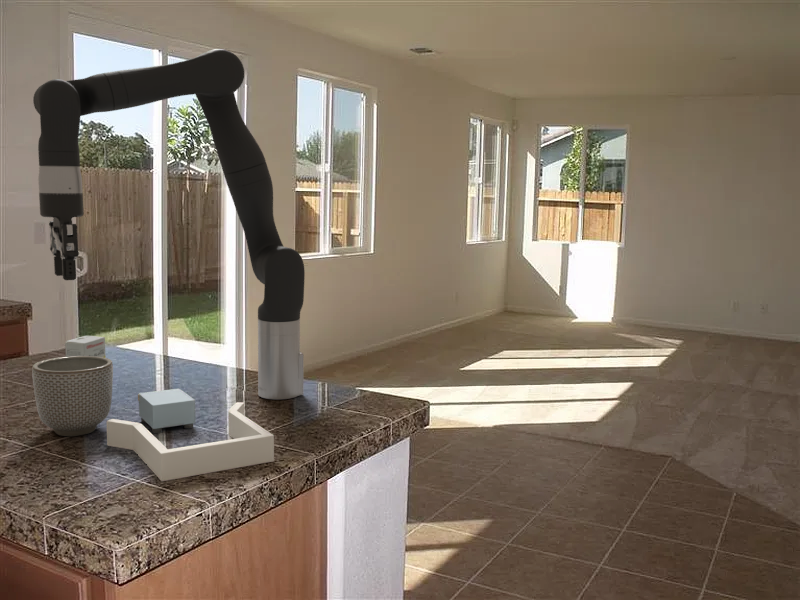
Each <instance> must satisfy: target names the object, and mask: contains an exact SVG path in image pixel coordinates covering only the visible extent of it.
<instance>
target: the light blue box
mask: <svg viewBox="0 0 800 600" xmlns="http://www.w3.org/2000/svg"><path fill="white" fill-rule="evenodd" d="M137 401H138V416H139V417H140V421H141V423H143V424H148V426H149V427H151V434H152V433H153V434H160V433H162V432H163V429H164V428H171V427H177V426H183V429H193V428H194V424H196V400H195V398H193V397H192V396H190V395H189V394H187V393H186V392H185V391H183V390H182V389H181V388H172V389H165V390H164V389H163V390H156V391H148V392H147V391H146V392H139V393H138V394H137Z"/></svg>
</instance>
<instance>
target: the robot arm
mask: <svg viewBox="0 0 800 600" xmlns="http://www.w3.org/2000/svg"><path fill="white" fill-rule="evenodd" d="M244 79H245V67H244V64H243V63H242V61H241V59H240V58H239V56H237V54H235V53H233V52H232V51H230V50H227V49H224V48H223V49H222V48H215V49H210V50H208V51H205V52H202V53H200V54H198V55H197V56H195V57H193V58H190V59H187V60H186V59H185V60H181V61H176V62H173V63H168V64H162V65H153V66H145V67H138V68H129V69H122V70H114V71H108V72H102V73H96V74H93V75H90V76H87V77H85V78H79V79H78V78H77V79H70V80H63V79H51V80H47V81H46V82H44V83H43V84H41V85H40V86H38V88H37V89H36V90H35V92H34V94H33V96H32V97H33V103H32V104H33V107H34V109H35V110H36V112H37V113H38V114H39V119H40V120H39V121H40V122H39V123H40V136H39V139H38V149H37V152H38V166H39V167H38V179H37V181H38V196H39V197H38V198H39V214H40V216H41V217H43V218H52V220H51V221H49V222H48V223H49V224H48V225H49V239H50V242H49V243H50V245H49V246H50V247H49V249H50V251H51V254H52V256H53V264H54V265H53V266H54V275H56V277H59V276H60V277H62V279H63V280H64V281H75V280H76V279H77V265H76V263H77V262H76V260H77V258H78V257H79V255H80V252H79V245H78V244H79V243H78V242H79V240H78V225H77V223H73V218H81V217H84V213H85V211H84V191H83V189H84V188H83V178H82V177H83V176H82V172H81V156H80V144H79V135H80V125H81V124H80V123H81V117H82V116H86V115H91V114H94V113H107V112H114V111H119V110H124V109H125V110H126V109H130V108H136V107H141V106H144V105H148V104H152V103H155V102H160V101H164V100H168V99H172V98H177V97H182V96H189V95H190V96H191V95H195V96H196V98H197V100H198V103H199V105H200V107H201V110H202V112H203V114H204V116H205V119H206V121H207V124H208V127H209V130H210V134H211V136H212V140H213V143H214V146H215V150H216V153H217V157H218V159H219V163H220V166H221V170H222V172H223V173H222V174H223V176H224V180H225V182H226V185H227V188H228V190H229V191H228V192H229V193H230V196H231V200H232V202H233V205H234V208H235V211H236V213H237V216H238V219H239V221H240V224H241V227H242V229H243V232H244V236H245V240H246V246H247V249H248V253H249V254H248V255H249V259H250V264H251V268H252V271H253V274H254V275H255V277H256V279H257V280H258V281H259V282H260V283H261V284H263V285H264V292H263V293H264V295H263V301H262V303H261V304H260V305H259V306H258V308H257V377H258V378H257V390H258V391H257V395H258V396H259V397H261V398H263V399H267V400H287V399H293V398H296V397H298V396H303V395H304V362H305V361H304V352H301V311H302V308H303V305H304V297H305V278H306V275H305V274H306V273H305V271H306V270H305V265H304V260H303V258H302V255H301V254H300V253H299V252H298V251H297V250H295V249H293V248H292V247H287V246H284V245H283V242H282V239H281V238H280V235H279V232H278V229H277V226H276V222H275V217H274V186H273V181H272V177H271V174H270V171H269V167H268V165H267V162H266V161H267V160H266V158H265V156H264V152H263V151H262V149H261V147H260V145H259V144H258V142H257V141H256V139H255V137H254V136H253V135H252V133H251V131H250V130H249V128H248V127H247V125H246V123H245V121H244V120H243V118H242V114H241V113H240V110H239V106H238V102H237V100H236V99H237V98H236V95H235V92H236V91H238V89H239V88H240V87H241V86H242V84H243V83H244Z"/></svg>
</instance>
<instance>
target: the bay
mask: <svg viewBox="0 0 800 600" xmlns="http://www.w3.org/2000/svg"><path fill="white" fill-rule="evenodd" d="M227 413H228V414H227V415H228V417H227V418H228V421H227V422H228V435H229V436H230V437H231V438H232V439H224V440H219V441H218V440H217V441H214V442H212V441H211V442H206V443H201V444H200V443H199V444H194V445H188V446H182V447H181V446H180V447H175V448H167V447H166V446H165V445H164V444H163V443H162V442H161V441H160V440H159V439H158V438H157V437H156V436H155V435H153V434H152V432H150V431H149V430H148V428H146V427H145V426H144V424H142V423H140V422H136V421H135V422H134V421H130V420H123V419H117V418H110V419H108V420H106V443H107V444H106V445H107V446H109V447H112V448H113V447H114V448H120V449H126V450H132V451H134V452H135V454H136V455H137V454H138V457H139V458H140V459H141V460H142V461H143V462H144V463H145V465H146V464H147V465H146V466H147V467H148V468H149V469H150V471H152V473H154V475H155V476H156V477H158V479H159V480H160V481H161V482H165V481H171V480H176V479H181V478H187V477H192V476H193V477H194V476H198V475H204V474H205V475H206V474H209V473H210V474H211V473H215V472H219V471H227V470H233V469H238V468H243V467H248V466H254V465H255V466H256V465H259V464H261V465H262V464H265V463H270V462H271V463H272V462H275V436H274V434H273V433H271V432H270V431H268V430H266V429H265V428H263V427H262V426H260V425H259V424H257V423H256V422H255V421H253V420H251V419H250V418H248V417H247V416H246V415H245V402H241V401H240V402H238V401H237V402H235V403H234V404H233V405H232V406H231V407H230V408H229V409H228V412H227Z"/></svg>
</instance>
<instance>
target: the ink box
mask: <svg viewBox="0 0 800 600" xmlns="http://www.w3.org/2000/svg"><path fill="white" fill-rule="evenodd" d="M64 344H65V345H64V346H65V357H69V356H98V357H104V358H107V357H106V337H105V336H96V335H83V336H80V337H76V338H72V339H68V340H66V341H65V343H64Z"/></svg>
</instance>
